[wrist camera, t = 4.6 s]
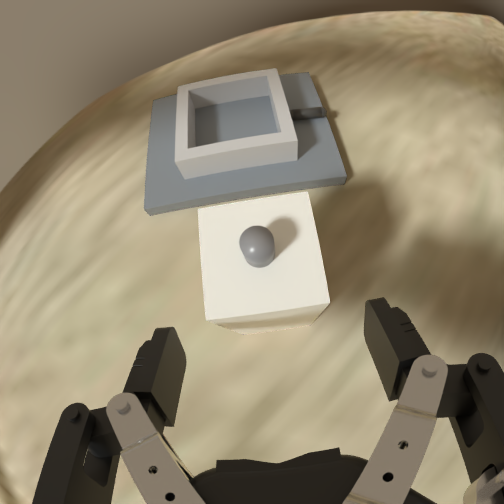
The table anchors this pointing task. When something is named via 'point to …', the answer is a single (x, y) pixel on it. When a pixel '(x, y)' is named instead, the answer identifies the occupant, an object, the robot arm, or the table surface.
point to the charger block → (262, 264)
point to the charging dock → (238, 141)
